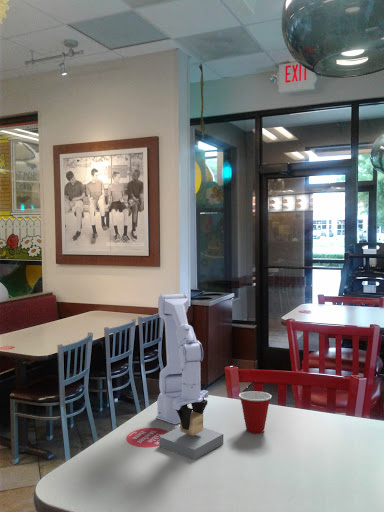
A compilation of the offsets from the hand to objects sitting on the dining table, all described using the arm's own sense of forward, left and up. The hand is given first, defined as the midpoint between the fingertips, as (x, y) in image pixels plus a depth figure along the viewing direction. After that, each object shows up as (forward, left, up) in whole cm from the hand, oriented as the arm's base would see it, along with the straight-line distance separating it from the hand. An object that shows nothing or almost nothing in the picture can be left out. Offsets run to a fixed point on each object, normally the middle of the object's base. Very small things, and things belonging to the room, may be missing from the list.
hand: (191, 426), depth 146 cm
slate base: (0, 0, -6) cm, 6 cm away
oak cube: (0, 0, -2) cm, 2 cm away
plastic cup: (+9, +22, -6) cm, 25 cm away
